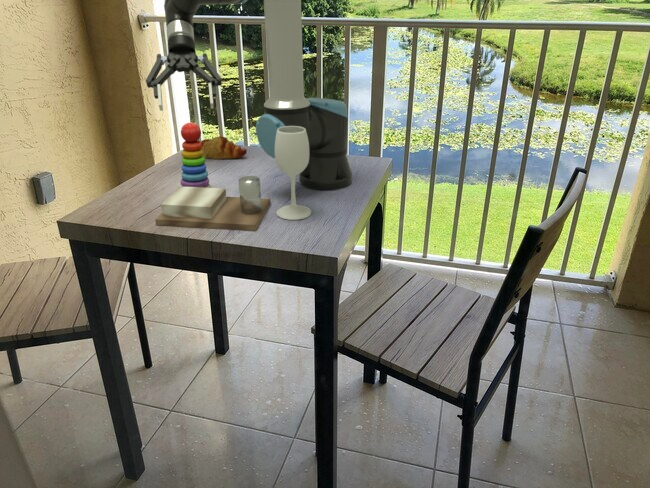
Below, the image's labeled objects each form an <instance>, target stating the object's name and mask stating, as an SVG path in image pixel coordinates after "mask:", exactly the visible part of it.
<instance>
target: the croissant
mask: <svg viewBox="0 0 650 488" xmlns="http://www.w3.org/2000/svg"><path fill="white" fill-rule="evenodd" d="M200 142H201V143H202V147H201V148H200V149H202V150H203V155H202V156H204V158H205V159H212V160H223V159H224V160H225V159H227V160H228V159H229V160H230V159H231V160H233V159H238V158H242V157H244V156H245V155H246V154H247V148H242V147H241V146H240V145H236V144H234V142H233V141H231V140H228V138H226V137H225V136H221V135H219V136H215V137H213V138H207V139H202V140H201V141H200Z"/></svg>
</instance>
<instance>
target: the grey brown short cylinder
mask: <svg viewBox="0 0 650 488" xmlns="http://www.w3.org/2000/svg"><path fill="white" fill-rule="evenodd" d="M238 192H239V193H238V194H239V197H240V206H241V212H242V213H243V214H247V215H253V214H258V213H260V212H261V211H262V209H261V198H262V196H261V195H262V194H261V179H260V177H258V176H255V175H245V176H241V177H240V178H238Z"/></svg>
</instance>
